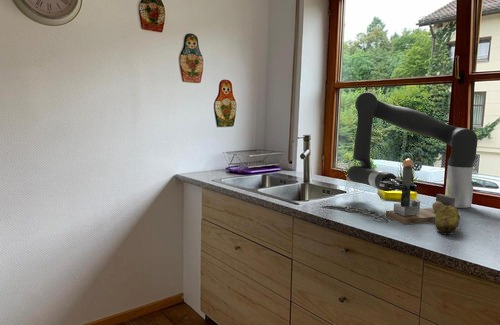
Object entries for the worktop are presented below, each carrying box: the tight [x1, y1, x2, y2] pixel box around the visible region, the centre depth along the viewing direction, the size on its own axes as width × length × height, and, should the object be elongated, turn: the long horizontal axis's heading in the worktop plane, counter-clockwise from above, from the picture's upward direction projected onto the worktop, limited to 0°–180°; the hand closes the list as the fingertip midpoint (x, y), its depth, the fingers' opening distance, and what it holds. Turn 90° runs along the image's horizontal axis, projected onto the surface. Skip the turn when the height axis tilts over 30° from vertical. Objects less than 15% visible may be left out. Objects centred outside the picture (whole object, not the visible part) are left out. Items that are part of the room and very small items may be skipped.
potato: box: [434, 205, 461, 235], centre depth 121 cm, size 8×13×8 cm, turn 135°
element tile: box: [377, 189, 418, 202], centre depth 170 cm, size 15×15×5 cm
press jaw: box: [392, 158, 421, 216], centre depth 132 cm, size 6×7×20 cm
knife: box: [321, 205, 390, 224], centre depth 142 cm, size 28×2×10 cm
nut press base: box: [385, 193, 455, 225], centre depth 135 cm, size 23×11×8 cm, turn 105°
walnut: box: [431, 201, 444, 212], centre depth 137 cm, size 4×4×4 cm
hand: (411, 189), depth 129 cm, fingers closed on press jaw, 3 cm apart
